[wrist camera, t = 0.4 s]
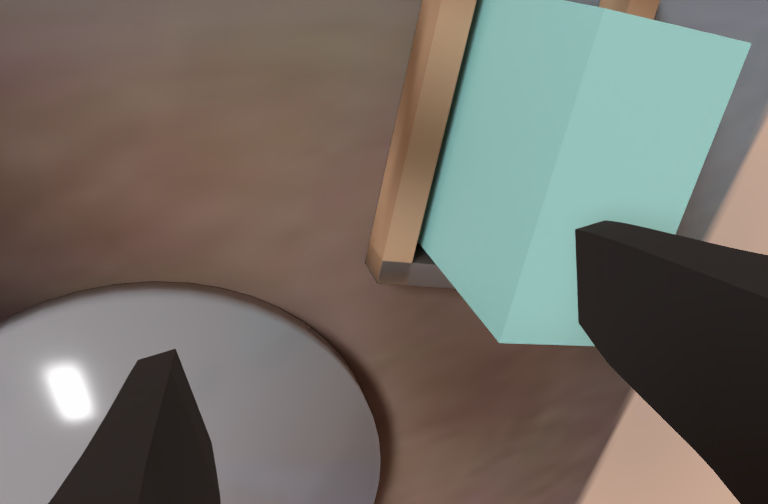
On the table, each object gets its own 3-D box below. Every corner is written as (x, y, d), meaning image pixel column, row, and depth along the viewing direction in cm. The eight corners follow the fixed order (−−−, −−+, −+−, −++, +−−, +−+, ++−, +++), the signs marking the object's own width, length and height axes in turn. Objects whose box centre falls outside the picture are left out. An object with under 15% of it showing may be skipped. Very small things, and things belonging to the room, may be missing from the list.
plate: (448, 452, 28) (459, 472, 26) (157, 690, 29) (157, 719, 28) (150, 178, 20) (150, 193, 19) (-239, 523, 21) (-260, 554, 20)
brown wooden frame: (438, -73, 19) (458, -73, 18) (635, -21, 21) (666, -18, 20) (364, 263, 23) (377, 283, 21) (538, 276, 25) (559, 294, 24)
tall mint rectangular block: (470, -17, 20) (604, 8, 14) (584, 9, 21) (751, 43, 15) (410, 232, 23) (499, 343, 17) (513, 241, 24) (630, 347, 18)
